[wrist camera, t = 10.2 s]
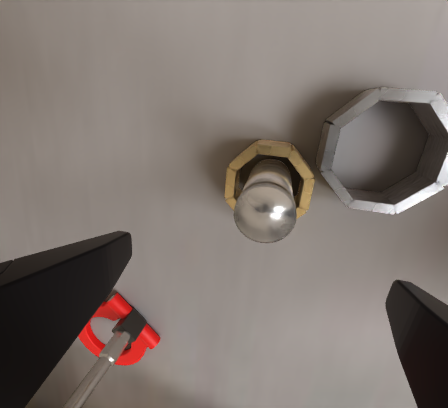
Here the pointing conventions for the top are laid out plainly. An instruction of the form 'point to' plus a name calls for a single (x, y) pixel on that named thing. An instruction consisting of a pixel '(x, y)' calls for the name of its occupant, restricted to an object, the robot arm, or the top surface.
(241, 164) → the small brass socket
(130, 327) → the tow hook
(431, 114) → the wide steel socket
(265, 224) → the round-tipped metal peg
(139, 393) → the top surface
